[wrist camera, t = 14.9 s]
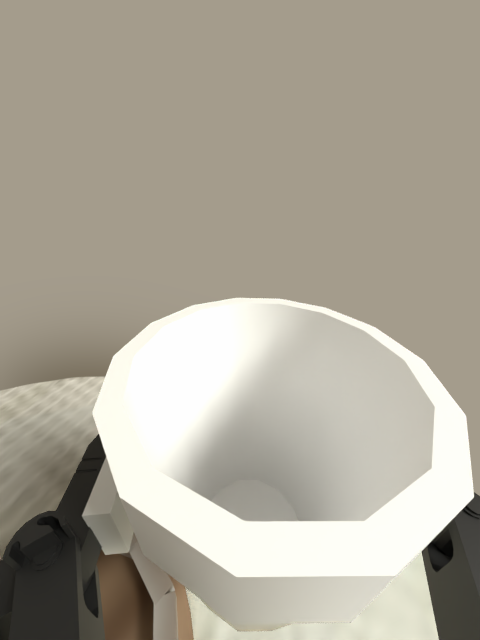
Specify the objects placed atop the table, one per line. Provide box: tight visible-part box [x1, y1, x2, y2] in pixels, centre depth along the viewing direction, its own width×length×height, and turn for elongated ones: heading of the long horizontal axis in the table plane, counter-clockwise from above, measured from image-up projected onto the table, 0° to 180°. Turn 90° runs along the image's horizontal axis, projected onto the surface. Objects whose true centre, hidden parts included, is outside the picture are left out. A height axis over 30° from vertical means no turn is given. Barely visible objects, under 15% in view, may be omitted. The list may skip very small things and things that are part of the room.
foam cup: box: [92, 298, 474, 631], centre depth 10 cm, size 10×9×13 cm
